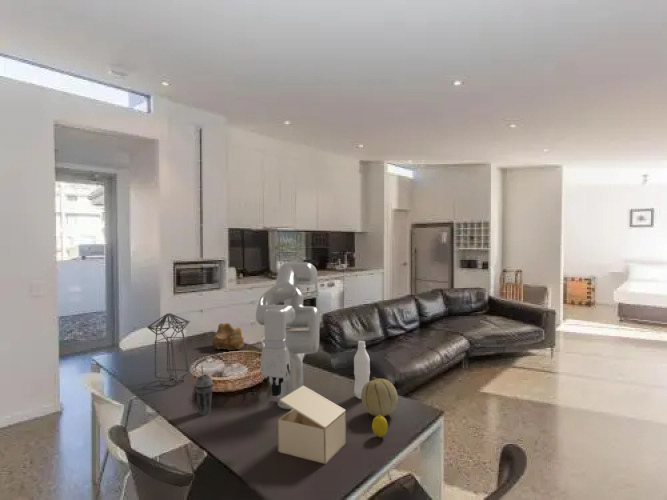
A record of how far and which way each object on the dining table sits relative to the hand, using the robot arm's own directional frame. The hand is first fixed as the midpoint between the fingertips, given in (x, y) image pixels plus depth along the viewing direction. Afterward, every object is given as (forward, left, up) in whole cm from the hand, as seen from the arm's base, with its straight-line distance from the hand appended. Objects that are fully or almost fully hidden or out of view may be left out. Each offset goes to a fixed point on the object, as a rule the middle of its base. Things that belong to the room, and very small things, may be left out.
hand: (276, 394), depth 156 cm
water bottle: (+11, +50, -16) cm, 54 cm away
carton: (+14, 0, -16) cm, 22 cm away
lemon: (+32, +17, -16) cm, 40 cm away
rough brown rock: (-102, +91, -16) cm, 138 cm away
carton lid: (+15, 0, -2) cm, 15 cm away
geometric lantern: (-83, +28, -16) cm, 89 cm away
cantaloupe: (+25, +35, -16) cm, 46 cm away
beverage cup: (-41, +7, -16) cm, 44 cm away
